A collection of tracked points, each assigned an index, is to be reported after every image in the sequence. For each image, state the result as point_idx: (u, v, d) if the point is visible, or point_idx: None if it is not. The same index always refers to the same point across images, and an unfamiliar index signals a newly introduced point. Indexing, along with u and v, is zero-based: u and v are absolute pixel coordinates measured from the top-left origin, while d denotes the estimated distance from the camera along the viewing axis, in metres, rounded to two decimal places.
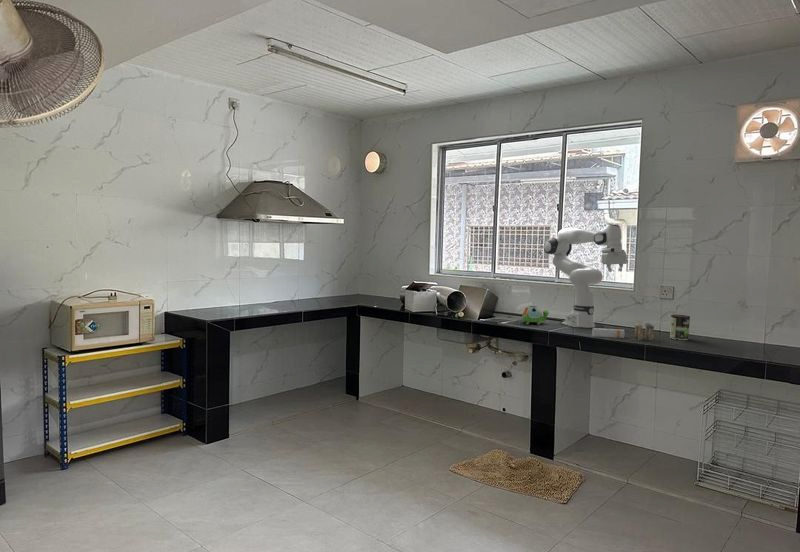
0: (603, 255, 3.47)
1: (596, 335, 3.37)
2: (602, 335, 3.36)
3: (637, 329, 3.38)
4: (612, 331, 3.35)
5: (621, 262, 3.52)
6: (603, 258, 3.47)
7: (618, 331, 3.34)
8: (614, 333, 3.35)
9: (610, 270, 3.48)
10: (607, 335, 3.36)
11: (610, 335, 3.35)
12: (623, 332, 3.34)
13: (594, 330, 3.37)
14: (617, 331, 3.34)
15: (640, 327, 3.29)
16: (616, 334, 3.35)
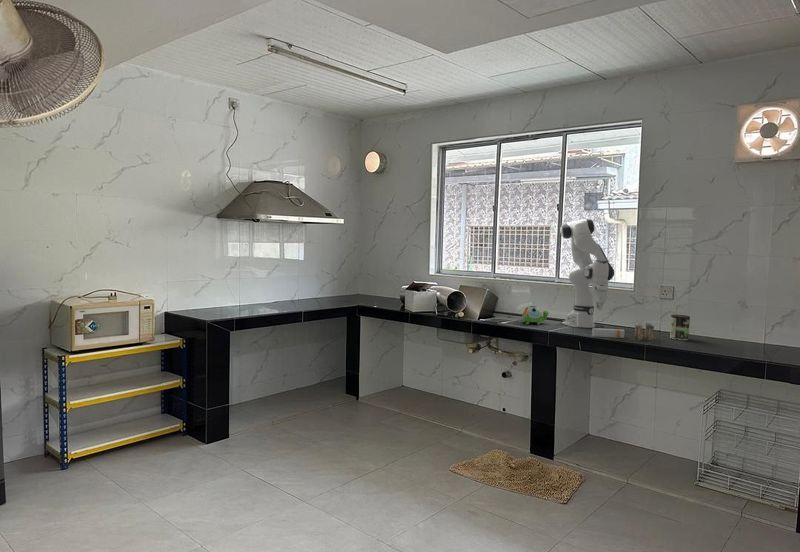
0: (601, 294, 3.28)
1: (596, 335, 3.37)
2: (602, 335, 3.36)
3: (637, 329, 3.38)
4: (612, 331, 3.35)
5: None
6: (601, 297, 3.27)
7: (618, 331, 3.34)
8: (614, 333, 3.35)
9: None
10: (607, 335, 3.36)
11: (610, 335, 3.35)
12: (623, 332, 3.34)
13: (594, 330, 3.37)
14: (617, 331, 3.34)
15: (640, 327, 3.29)
16: (616, 334, 3.35)
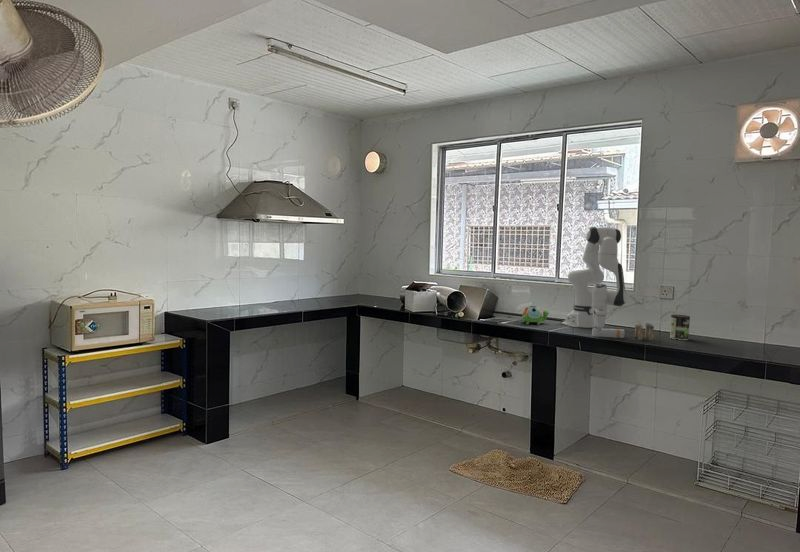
0: (600, 318, 3.29)
1: (596, 335, 3.37)
2: (602, 335, 3.36)
3: (637, 329, 3.38)
4: (612, 331, 3.35)
5: None
6: (600, 322, 3.29)
7: (618, 331, 3.34)
8: (614, 333, 3.35)
9: None
10: (607, 335, 3.36)
11: (610, 335, 3.35)
12: (623, 332, 3.34)
13: (594, 330, 3.37)
14: (617, 331, 3.34)
15: (640, 327, 3.29)
16: (616, 334, 3.35)
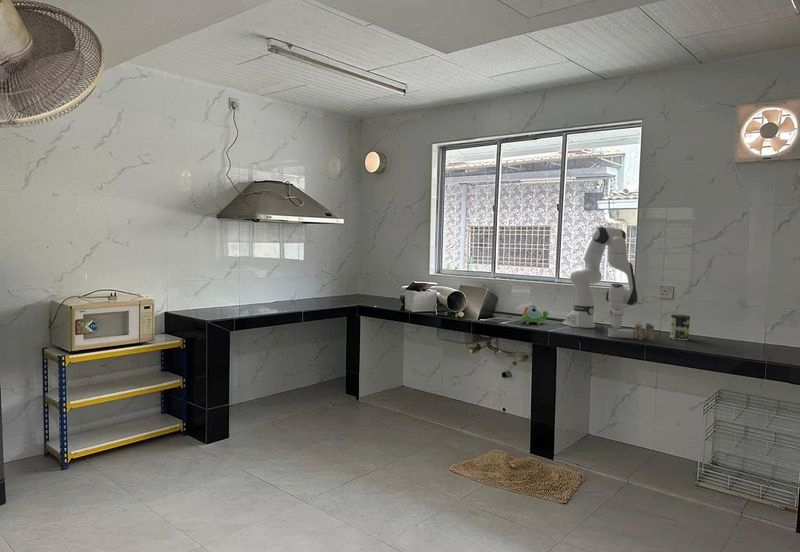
0: (616, 318, 3.27)
1: (611, 336, 3.35)
2: (618, 336, 3.34)
3: (637, 329, 3.38)
4: (628, 332, 3.33)
5: None
6: (617, 322, 3.27)
7: (634, 332, 3.32)
8: (630, 334, 3.33)
9: (616, 333, 3.33)
10: (623, 336, 3.34)
11: (626, 336, 3.34)
12: None
13: (610, 330, 3.35)
14: (633, 332, 3.33)
15: (640, 327, 3.29)
16: (632, 335, 3.33)
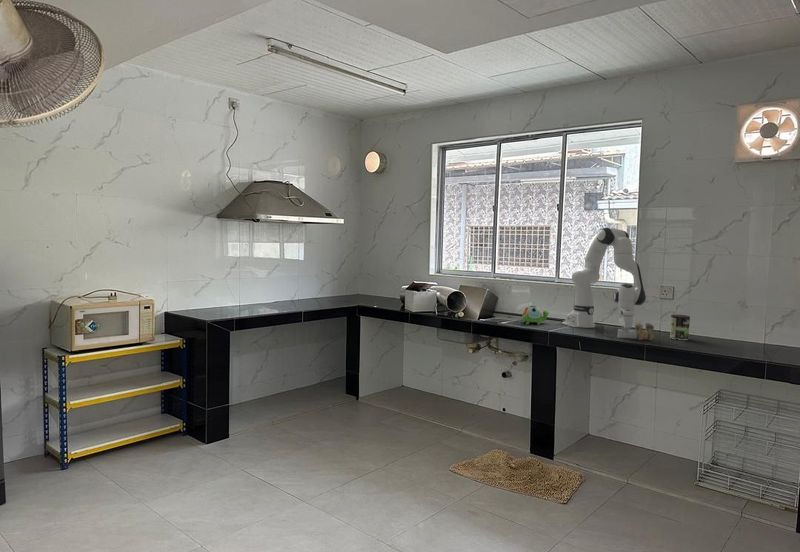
0: (627, 319, 3.26)
1: (621, 336, 3.34)
2: (628, 336, 3.33)
3: (637, 329, 3.38)
4: None
5: None
6: (627, 322, 3.26)
7: (644, 332, 3.31)
8: None
9: (627, 333, 3.32)
10: (633, 336, 3.33)
11: (636, 337, 3.32)
12: None
13: (620, 331, 3.34)
14: (643, 332, 3.31)
15: (640, 327, 3.29)
16: None
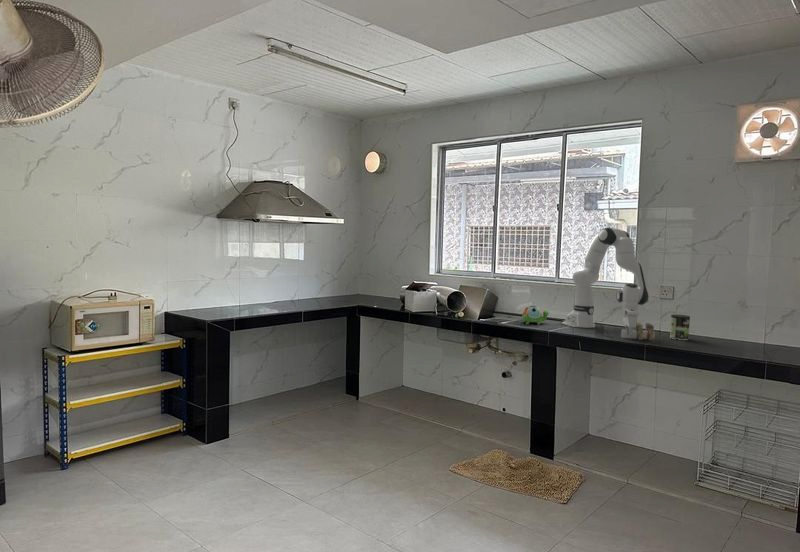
0: (631, 319, 3.25)
1: (625, 337, 3.34)
2: (632, 337, 3.33)
3: (637, 329, 3.38)
4: None
5: None
6: (632, 322, 3.25)
7: (648, 333, 3.31)
8: (644, 335, 3.32)
9: None
10: (637, 337, 3.32)
11: None
12: (653, 334, 3.31)
13: (624, 332, 3.34)
14: (647, 333, 3.31)
15: (640, 327, 3.29)
16: (646, 336, 3.31)
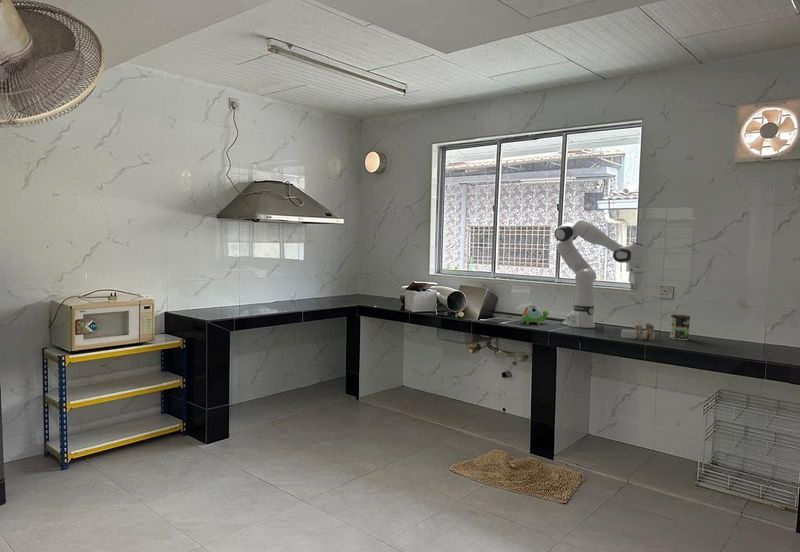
0: (637, 275, 3.37)
1: (625, 337, 3.34)
2: (632, 337, 3.33)
3: (637, 329, 3.38)
4: None
5: None
6: (637, 278, 3.37)
7: (648, 333, 3.31)
8: (644, 335, 3.31)
9: None
10: (637, 337, 3.32)
11: None
12: (653, 334, 3.30)
13: (624, 332, 3.33)
14: (647, 333, 3.31)
15: (640, 327, 3.29)
16: (646, 336, 3.31)
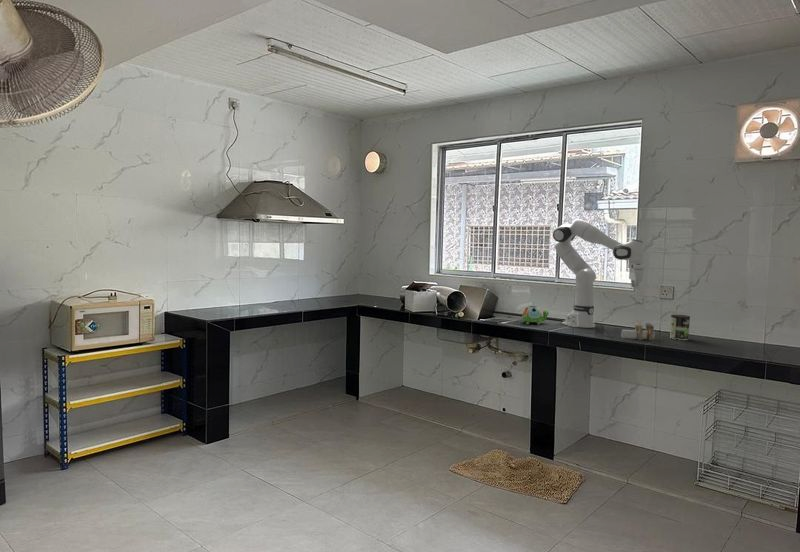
0: (637, 272, 3.38)
1: (625, 337, 3.33)
2: (632, 337, 3.33)
3: (637, 329, 3.38)
4: None
5: None
6: (638, 275, 3.38)
7: (648, 333, 3.31)
8: (644, 335, 3.31)
9: None
10: (637, 337, 3.32)
11: None
12: (653, 334, 3.31)
13: (624, 332, 3.33)
14: (647, 333, 3.31)
15: (640, 327, 3.29)
16: (646, 336, 3.31)
